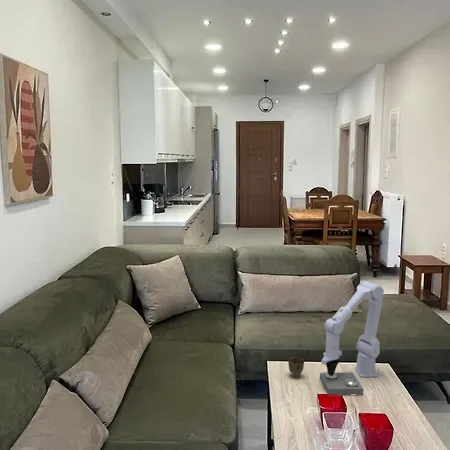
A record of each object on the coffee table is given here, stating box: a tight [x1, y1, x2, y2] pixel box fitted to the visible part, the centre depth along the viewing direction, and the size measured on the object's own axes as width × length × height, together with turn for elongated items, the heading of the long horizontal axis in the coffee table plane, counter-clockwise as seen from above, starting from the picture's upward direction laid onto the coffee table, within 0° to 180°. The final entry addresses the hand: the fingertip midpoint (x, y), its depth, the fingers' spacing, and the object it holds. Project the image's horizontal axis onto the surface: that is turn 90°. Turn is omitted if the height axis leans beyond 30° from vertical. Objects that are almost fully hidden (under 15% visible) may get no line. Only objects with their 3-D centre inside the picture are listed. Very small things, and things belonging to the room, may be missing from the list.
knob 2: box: [345, 379, 357, 387], centre depth 204 cm, size 5×5×4 cm
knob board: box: [319, 371, 364, 396], centre depth 208 cm, size 15×15×3 cm
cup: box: [287, 356, 305, 378], centre depth 217 cm, size 8×7×8 cm
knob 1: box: [324, 371, 337, 379], centre depth 211 cm, size 5×5×4 cm
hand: (330, 374), depth 211 cm, fingers closed, pressing on knob 1
